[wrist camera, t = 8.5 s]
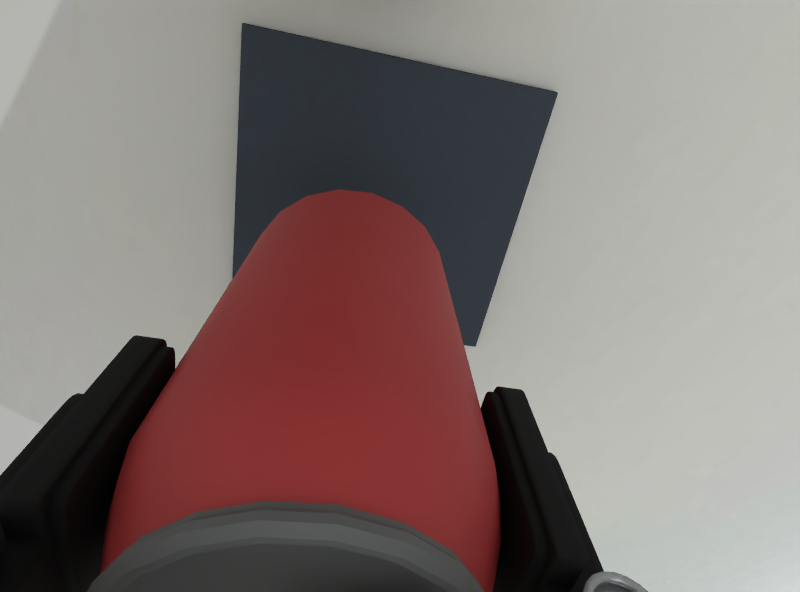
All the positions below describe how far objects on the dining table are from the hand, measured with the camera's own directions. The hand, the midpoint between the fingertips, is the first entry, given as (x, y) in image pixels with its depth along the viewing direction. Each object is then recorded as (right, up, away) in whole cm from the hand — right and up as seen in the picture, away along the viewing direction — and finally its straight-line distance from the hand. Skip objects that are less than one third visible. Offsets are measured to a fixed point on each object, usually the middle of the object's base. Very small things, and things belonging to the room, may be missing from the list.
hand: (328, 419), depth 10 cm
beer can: (0, +4, +7) cm, 8 cm away
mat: (0, +7, +14) cm, 15 cm away
